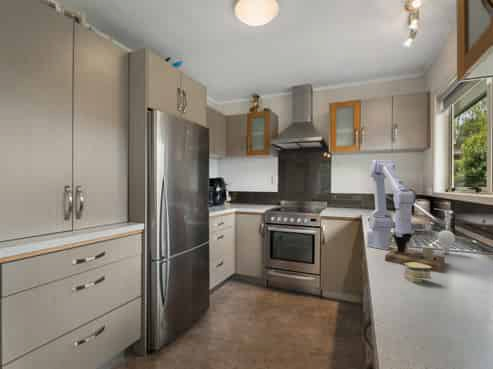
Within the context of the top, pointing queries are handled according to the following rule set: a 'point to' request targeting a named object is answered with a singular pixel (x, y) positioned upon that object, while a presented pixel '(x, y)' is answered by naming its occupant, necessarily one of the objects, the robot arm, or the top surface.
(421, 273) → the stacked layers on plate
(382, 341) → the top surface
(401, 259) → the pegboard
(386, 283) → the top surface
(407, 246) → the beech peg
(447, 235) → the lightbulb
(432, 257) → the peg
